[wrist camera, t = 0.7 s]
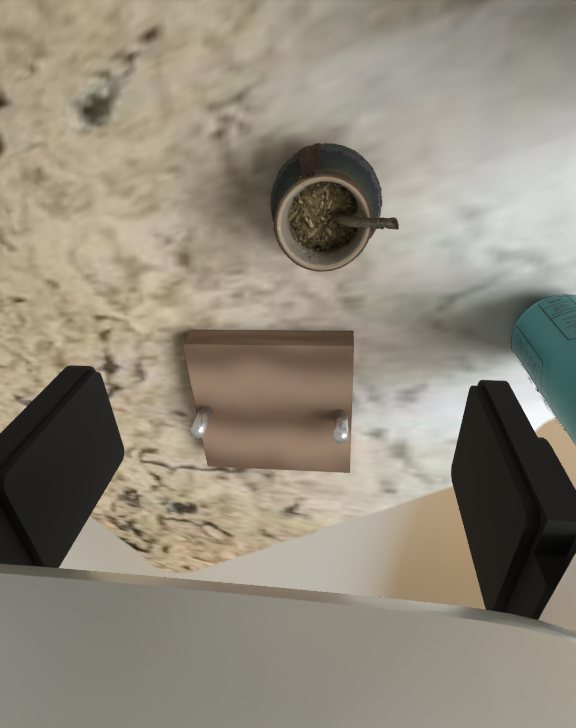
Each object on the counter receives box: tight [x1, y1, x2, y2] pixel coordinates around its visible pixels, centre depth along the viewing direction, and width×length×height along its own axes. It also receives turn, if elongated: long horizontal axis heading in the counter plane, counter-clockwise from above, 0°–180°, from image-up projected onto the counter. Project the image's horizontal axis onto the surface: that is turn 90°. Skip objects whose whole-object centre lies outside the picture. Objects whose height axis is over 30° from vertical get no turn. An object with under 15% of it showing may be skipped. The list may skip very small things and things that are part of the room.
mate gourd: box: [271, 143, 399, 272], centre depth 27 cm, size 7×8×10 cm
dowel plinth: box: [183, 330, 354, 473], centre depth 39 cm, size 14×14×6 cm
